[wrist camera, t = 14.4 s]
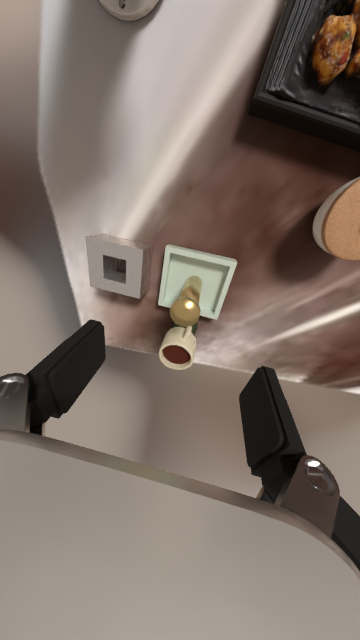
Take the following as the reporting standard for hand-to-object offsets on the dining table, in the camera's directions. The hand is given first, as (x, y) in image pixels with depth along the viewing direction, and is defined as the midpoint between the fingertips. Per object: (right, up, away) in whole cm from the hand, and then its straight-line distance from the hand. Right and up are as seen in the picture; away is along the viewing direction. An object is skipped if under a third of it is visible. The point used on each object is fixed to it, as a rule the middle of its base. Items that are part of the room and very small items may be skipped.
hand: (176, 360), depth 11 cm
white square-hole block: (-12, +16, +29) cm, 35 cm away
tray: (+4, +11, +29) cm, 31 cm away
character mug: (+2, +2, +35) cm, 35 cm away
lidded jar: (+27, +20, +19) cm, 39 cm away
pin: (+3, +11, +28) cm, 30 cm away
